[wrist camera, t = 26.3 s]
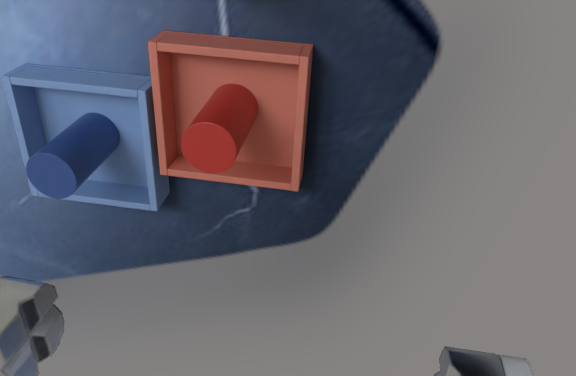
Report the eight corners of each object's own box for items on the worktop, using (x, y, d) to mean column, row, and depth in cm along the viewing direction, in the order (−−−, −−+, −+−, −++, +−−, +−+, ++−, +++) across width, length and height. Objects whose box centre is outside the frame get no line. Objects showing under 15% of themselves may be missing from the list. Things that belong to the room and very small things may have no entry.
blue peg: (117, 114, 39) (71, 156, 33) (122, 155, 41) (80, 201, 35) (73, 109, 39) (20, 150, 33) (80, 150, 41) (31, 195, 35)
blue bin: (160, 76, 37) (145, 91, 35) (170, 192, 43) (157, 211, 40) (25, 63, 38) (0, 75, 36) (51, 177, 44) (31, 195, 41)
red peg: (258, 85, 36) (237, 125, 30) (257, 131, 38) (236, 176, 32) (210, 80, 36) (178, 119, 30) (211, 125, 38) (182, 170, 32)
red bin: (313, 44, 34) (308, 57, 32) (302, 172, 40) (298, 191, 37) (163, 29, 35) (147, 41, 33) (173, 156, 41) (159, 175, 38)
